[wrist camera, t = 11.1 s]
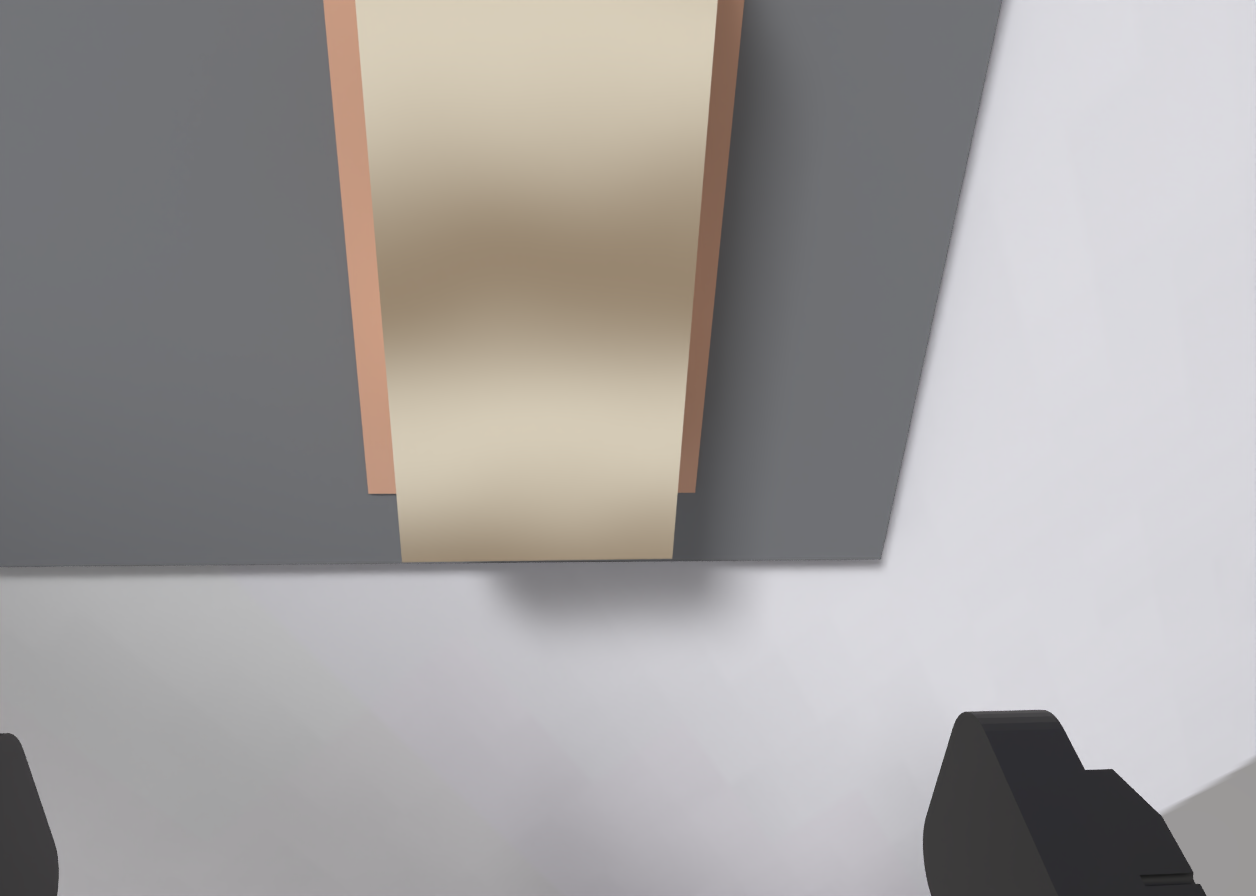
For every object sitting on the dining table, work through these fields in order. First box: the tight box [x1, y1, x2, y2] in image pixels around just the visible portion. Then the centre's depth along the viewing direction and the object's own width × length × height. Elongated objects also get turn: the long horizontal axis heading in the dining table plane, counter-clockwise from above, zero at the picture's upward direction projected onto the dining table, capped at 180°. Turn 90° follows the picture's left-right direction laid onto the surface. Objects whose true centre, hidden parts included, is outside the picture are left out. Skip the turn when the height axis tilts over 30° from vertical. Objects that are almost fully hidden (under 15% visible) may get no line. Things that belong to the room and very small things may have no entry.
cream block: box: [355, 0, 718, 562], centre depth 20 cm, size 12×5×4 cm, turn 178°
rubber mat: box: [0, 0, 1002, 567], centre depth 20 cm, size 30×22×1 cm
